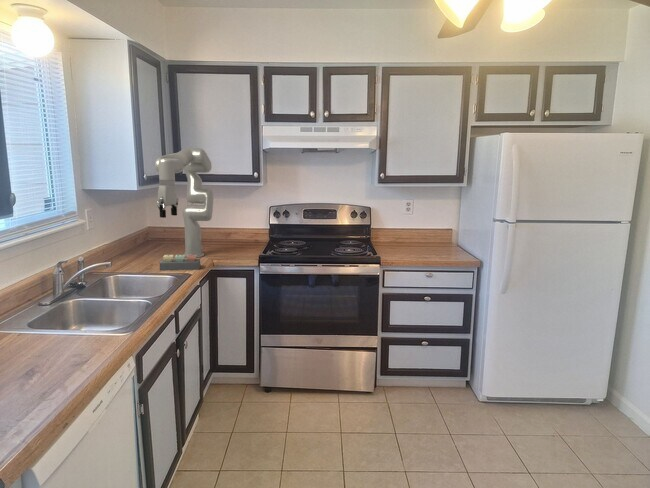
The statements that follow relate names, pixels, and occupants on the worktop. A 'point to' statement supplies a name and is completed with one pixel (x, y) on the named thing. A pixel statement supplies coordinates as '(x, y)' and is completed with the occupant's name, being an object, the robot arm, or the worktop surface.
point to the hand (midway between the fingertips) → (168, 216)
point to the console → (180, 265)
